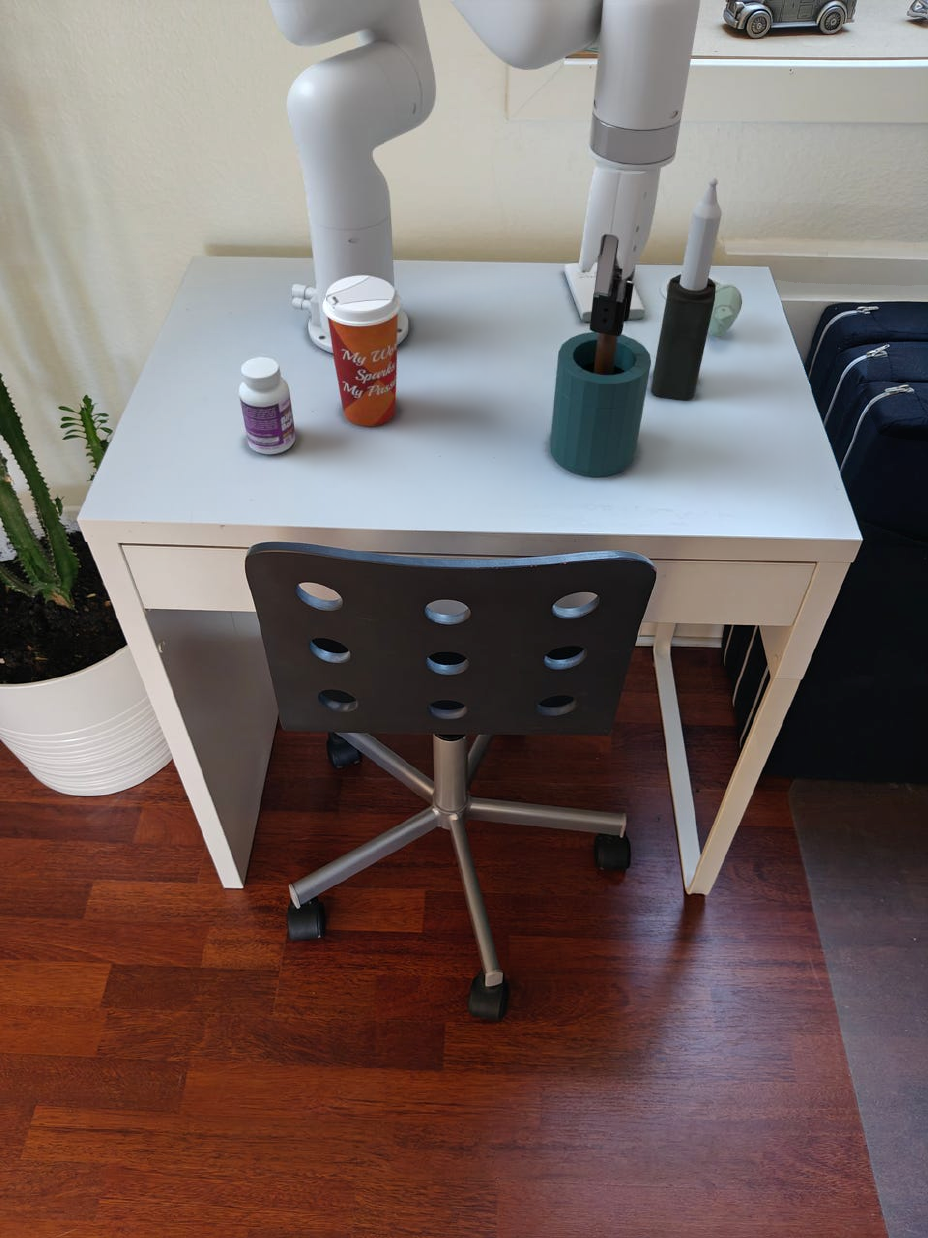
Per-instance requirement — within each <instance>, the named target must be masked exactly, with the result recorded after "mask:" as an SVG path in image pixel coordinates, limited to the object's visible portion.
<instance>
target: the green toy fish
mask: <svg viewBox="0 0 928 1238" xmlns="http://www.w3.org/2000/svg"><path fill="white" fill-rule="evenodd" d="M715 285H716V292H715V302H714V306H713V311H712V315H711V320H710V325H709V329H708V332H710V334H711V335H712V336H713V337H721V336H723V335H724V334H726V333H727V332H728V331H729V330H730V329H731V327H732V326H733V325H734V323H735V322H736V320H737V318H738V317H739V314H740V312H741V309H742V305H743V299H742V297H743V296H742V294H741V292H740V290H739V288H737V287H736V286H735V285H733V284H726V283H725V284H721V283H718V284H717V283H715Z"/></svg>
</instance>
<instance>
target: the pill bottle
mask: <svg viewBox="0 0 928 1238" xmlns="http://www.w3.org/2000/svg"><path fill="white" fill-rule="evenodd" d="M240 372H241V378H242V381H241V383H240V385H239V389H238V398H239V402H240V407H241V413H242V416H243V424H244V428H245V434H246V439H247V443H248V446H249V447H250V448H251V449H252V450H253V451H254V452H256V453H258V454H259V453H260V454H263V455H276V454H280V453H284V452H286V451H287V450H289V449H290V448H291V447H292V446H293V444H294V442H295V441H296V429H295V422H294V421H295V420H294V414H293V408H292V401H291V393H290V392H291V391H290V387H289V384H288V382H287V381H286V379H285V378H283V377H282V376H281V375H282V373H281V369H280V364H279V363H278V361H277V360H276V359H274V358H271V357H267V356H266V357H265V356H258V357H253V358H250V359H248V360H246V361H245V362H244V363H242V365H241V368H240Z"/></svg>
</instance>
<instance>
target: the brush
mask: <svg viewBox="0 0 928 1238" xmlns="http://www.w3.org/2000/svg"><path fill="white" fill-rule="evenodd" d="M613 281H617V282H618V284H619V278H616V277H613ZM617 340H618V336H613V335H607V334H602V333H598V340H597V348H596V356H595V364H594V372H593V373H594V374H599V375H613V369H614V362H615V354H616V347H617Z"/></svg>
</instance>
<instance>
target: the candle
mask: <svg viewBox="0 0 928 1238" xmlns="http://www.w3.org/2000/svg"><path fill="white" fill-rule="evenodd" d="M718 183H719V182H718V179H717V178H716V177H712V178H710V179H709V181H708V184H709V185H708V187H707V188H706V191H705V193H704V195H703V197H702V199H701V200H700V201H699V202H698V203H697V204H696V205H695V206H694V208H693V209H692V210H693V211H692V213H691V214H692V216H691V220H690V226H689V231H688V237H687V240H686V241H687V242H686V248H685V252H684V256H683V257H684V258H683V263H682V268H681V273H679V274H677V275H675V276H674V277H672V278H670V280H669V282H668V289H667V293H666V299H665V304H664V310H663V316H662V322H661V327H660V331H659V332H660V333H659V338H658V344H657V349H656V356H655V361H654V368H653V372H652V381H651V387H650V393H651V394H652V395H653V396H655V397H656V398H662V399H663V398H664V399H669V400H670V399H671V400H677V401H678V400H679V401H690V400H692V399H693V398H694V397H695V393H696V389H697V385H698V379H699V375H700V370H701V365H702V361H703V357H704V352H705V347H706V343H707V338H708V333H709V325H710V320H711V315H712V311H713V306H714V302H715V292H716V285H715V284H716V283H715V282H714V281H713V280H712V279H711V278H710V272H711V268H712V262H713V258H714V252H715V248H716V243H717V238H718V235H719V234H718V233H719V230H720V224H721V219H722V215H723V214H722V213H723V212H722V208H721V207H720V204H719V202H718V194H717V185H718Z"/></svg>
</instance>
